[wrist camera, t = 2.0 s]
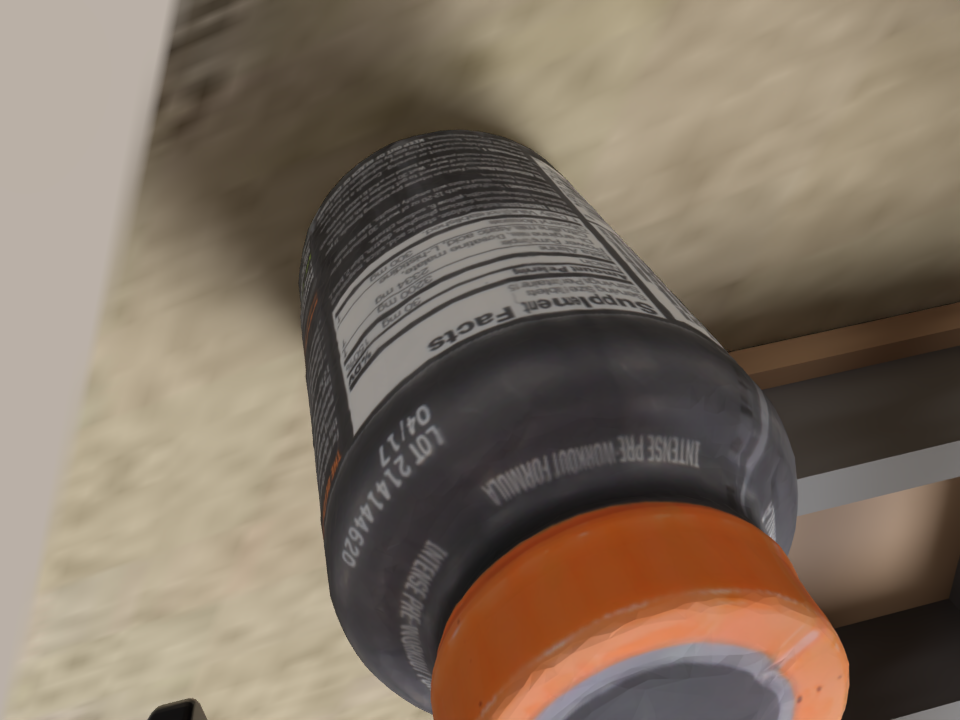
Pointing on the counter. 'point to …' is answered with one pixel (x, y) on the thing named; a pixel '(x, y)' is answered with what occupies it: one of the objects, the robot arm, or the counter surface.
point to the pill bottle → (543, 460)
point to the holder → (878, 499)
